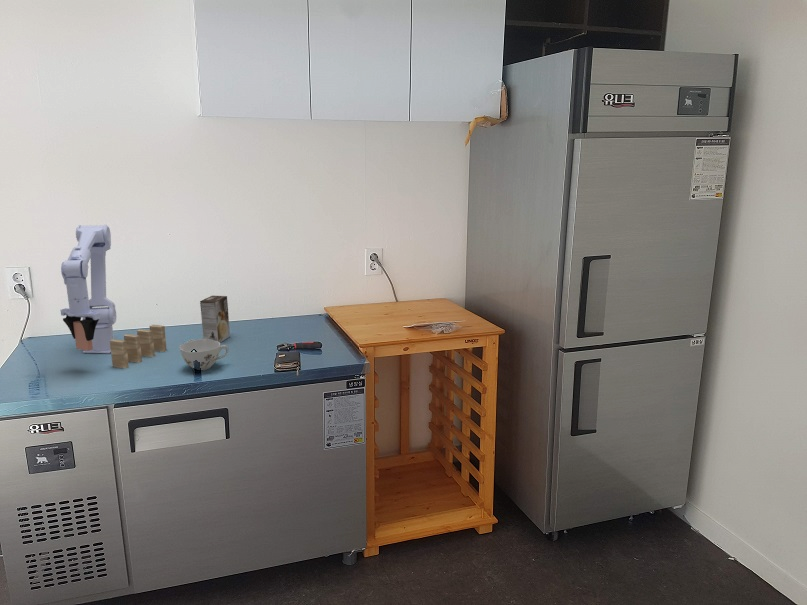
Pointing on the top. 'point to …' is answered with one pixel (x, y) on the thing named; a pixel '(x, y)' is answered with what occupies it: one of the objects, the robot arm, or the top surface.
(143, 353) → the domino
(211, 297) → the coffee box
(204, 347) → the teacup
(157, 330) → the domino
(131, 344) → the domino
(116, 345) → the domino
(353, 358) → the top surface
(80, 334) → the end domino
